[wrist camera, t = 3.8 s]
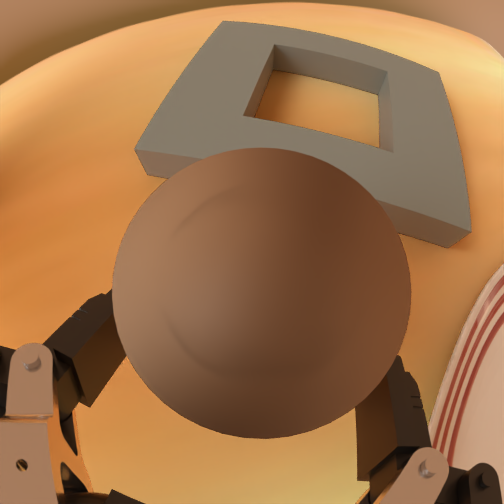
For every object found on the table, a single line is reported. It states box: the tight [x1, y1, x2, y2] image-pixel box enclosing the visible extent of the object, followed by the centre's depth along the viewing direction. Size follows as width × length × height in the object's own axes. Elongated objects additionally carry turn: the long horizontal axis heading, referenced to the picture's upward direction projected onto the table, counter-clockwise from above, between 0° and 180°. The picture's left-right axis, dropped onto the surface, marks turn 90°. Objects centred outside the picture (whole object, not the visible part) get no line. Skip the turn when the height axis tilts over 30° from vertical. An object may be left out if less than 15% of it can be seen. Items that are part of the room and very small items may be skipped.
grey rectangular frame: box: [134, 21, 472, 248], centre depth 20 cm, size 22×18×3 cm
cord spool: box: [112, 147, 411, 439], centre depth 11 cm, size 7×7×11 cm
